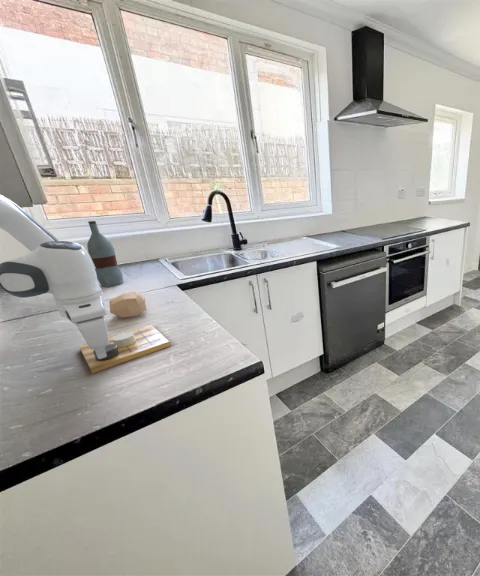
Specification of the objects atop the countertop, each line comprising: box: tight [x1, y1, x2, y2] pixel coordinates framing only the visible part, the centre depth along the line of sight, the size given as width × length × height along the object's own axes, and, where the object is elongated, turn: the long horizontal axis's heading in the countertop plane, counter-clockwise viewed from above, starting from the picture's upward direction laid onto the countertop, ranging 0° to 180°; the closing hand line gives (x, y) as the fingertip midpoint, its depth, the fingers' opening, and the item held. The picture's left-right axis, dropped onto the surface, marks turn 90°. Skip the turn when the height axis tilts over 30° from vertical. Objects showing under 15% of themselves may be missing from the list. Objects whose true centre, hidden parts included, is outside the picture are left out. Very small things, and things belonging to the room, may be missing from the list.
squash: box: [108, 291, 147, 319], centre depth 116 cm, size 11×20×9 cm, turn 37°
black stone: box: [93, 344, 119, 361], centre depth 85 cm, size 5×5×2 cm
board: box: [78, 324, 172, 374], centre depth 92 cm, size 18×18×2 cm
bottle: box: [86, 220, 124, 288], centre depth 144 cm, size 9×9×30 cm
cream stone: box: [112, 331, 136, 348], centre depth 92 cm, size 5×5×2 cm
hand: (98, 351), depth 84 cm, fingers open, 8 cm apart
